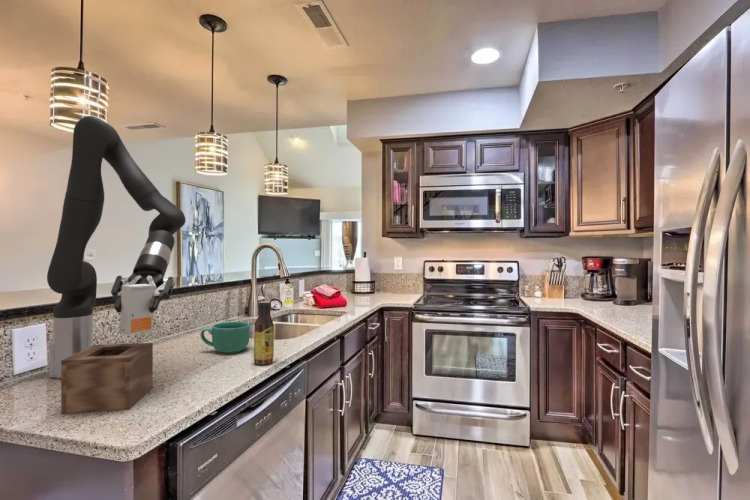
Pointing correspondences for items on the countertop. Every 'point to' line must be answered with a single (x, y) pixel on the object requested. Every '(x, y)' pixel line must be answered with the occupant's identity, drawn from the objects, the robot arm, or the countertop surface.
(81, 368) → the slot box
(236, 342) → the mug
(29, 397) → the countertop surface
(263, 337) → the sauce bottle
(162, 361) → the countertop surface
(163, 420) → the countertop surface
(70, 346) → the robot arm
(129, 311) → the skincare box
